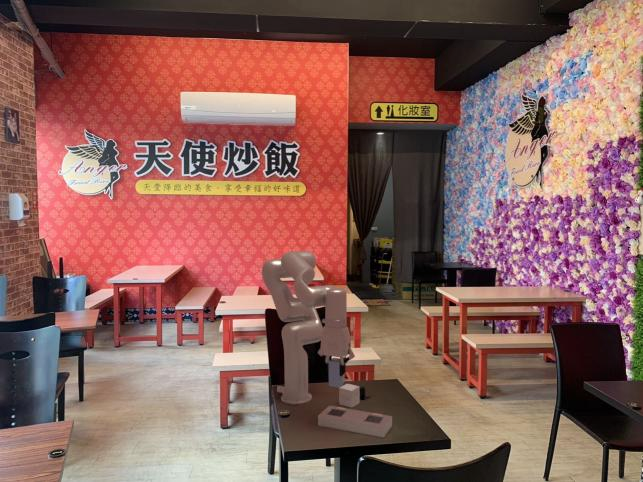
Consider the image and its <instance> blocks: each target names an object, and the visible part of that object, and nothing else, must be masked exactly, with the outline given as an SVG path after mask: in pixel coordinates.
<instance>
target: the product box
mask: <svg viewBox="0 0 643 482" xmlns="http://www.w3.org/2000/svg"><path fill="white" fill-rule="evenodd" d="M338 398H339V399H338V405H341V406H343V407H348V408H350V409H353V408H354V407H356V406H357V405H359V404H360V403H361V400H360V387H359V386H356V384H355V385H354V384H351V383H346V384H343V385H342V386H340V387H338Z"/></svg>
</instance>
